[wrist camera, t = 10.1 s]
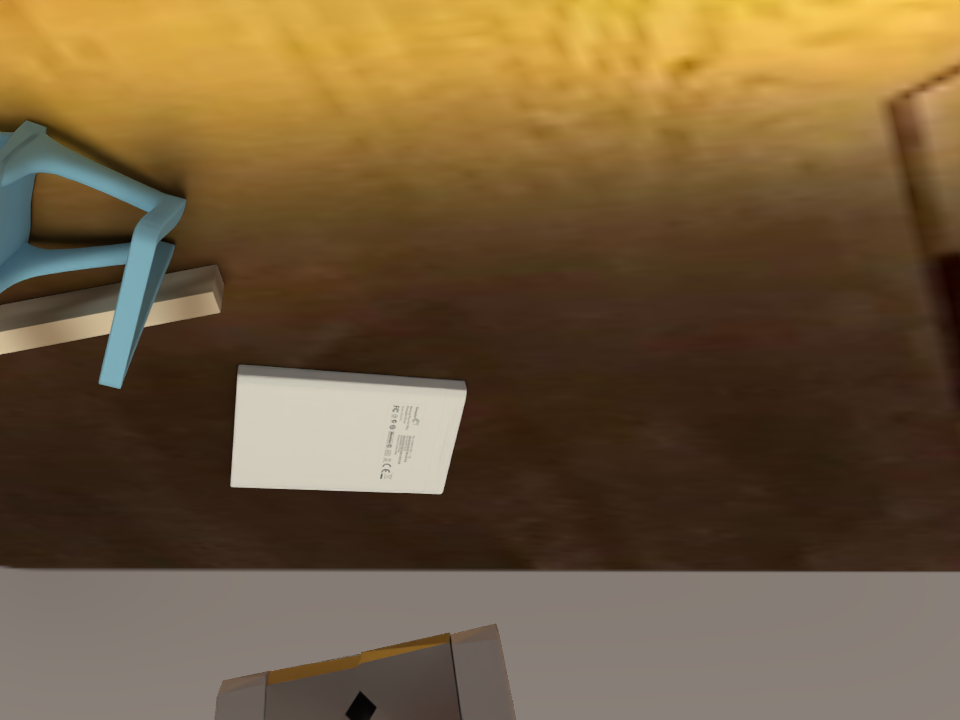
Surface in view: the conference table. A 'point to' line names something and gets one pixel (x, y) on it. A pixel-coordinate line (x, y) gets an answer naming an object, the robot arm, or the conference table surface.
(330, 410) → the external hard drive
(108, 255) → the chair
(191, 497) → the conference table surface
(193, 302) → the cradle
